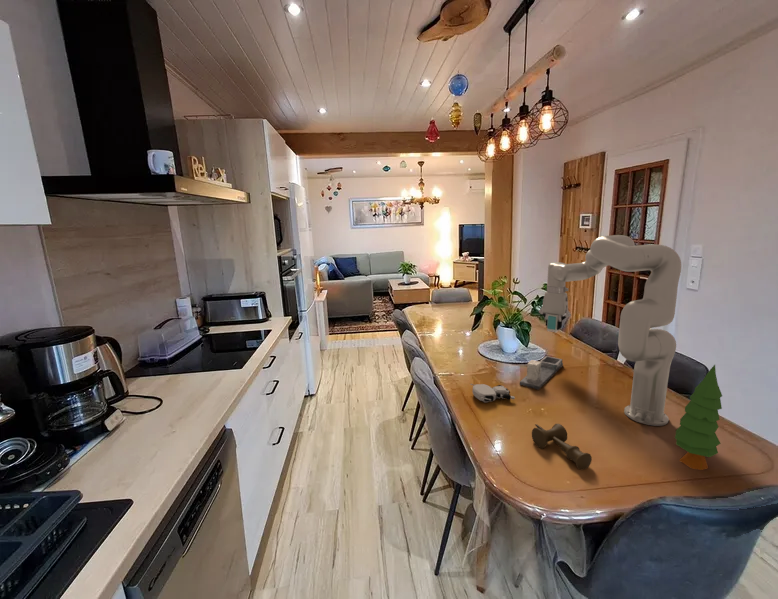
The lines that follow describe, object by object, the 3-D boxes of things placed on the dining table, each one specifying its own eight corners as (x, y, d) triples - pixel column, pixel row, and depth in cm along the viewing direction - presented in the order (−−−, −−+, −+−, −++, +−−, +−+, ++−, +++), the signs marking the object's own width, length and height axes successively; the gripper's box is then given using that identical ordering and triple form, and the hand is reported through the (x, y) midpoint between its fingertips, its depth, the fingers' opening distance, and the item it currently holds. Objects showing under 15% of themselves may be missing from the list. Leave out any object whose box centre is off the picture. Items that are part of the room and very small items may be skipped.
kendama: (571, 476, 97) (522, 435, 115) (597, 468, 100) (546, 429, 118) (574, 457, 95) (524, 418, 114) (600, 449, 98) (547, 413, 117)
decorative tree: (722, 476, 93) (740, 371, 87) (680, 471, 96) (695, 368, 90) (701, 454, 102) (716, 357, 96) (663, 449, 105) (676, 355, 99)
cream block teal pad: (559, 329, 164) (560, 313, 163) (555, 332, 160) (556, 316, 158) (550, 328, 167) (551, 312, 165) (546, 331, 163) (547, 314, 161)
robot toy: (502, 391, 147) (468, 392, 146) (503, 381, 147) (468, 382, 145) (516, 405, 135) (479, 406, 134) (517, 395, 135) (480, 395, 133)
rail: (538, 389, 145) (539, 368, 143) (519, 384, 151) (520, 364, 149) (562, 365, 168) (564, 347, 166) (545, 362, 174) (546, 343, 172)
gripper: (578, 290, 157) (575, 329, 161) (540, 286, 168) (538, 323, 172) (573, 292, 152) (570, 333, 155) (534, 289, 163) (532, 327, 166)
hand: (553, 327), depth 164 cm, fingers closed on cream block teal pad, 4 cm apart
